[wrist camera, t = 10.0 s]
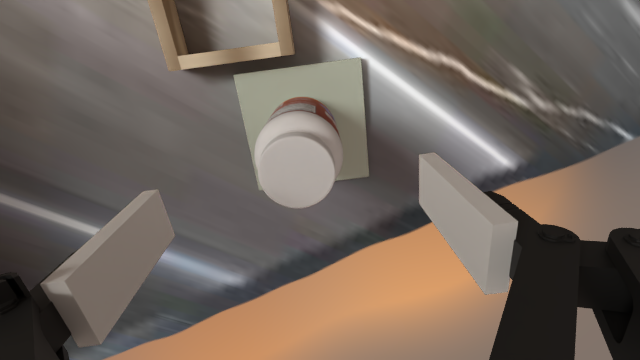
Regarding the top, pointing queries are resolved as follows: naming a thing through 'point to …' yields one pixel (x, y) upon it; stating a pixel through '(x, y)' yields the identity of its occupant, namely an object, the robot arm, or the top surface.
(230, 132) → the top surface
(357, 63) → the coaster
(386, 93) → the top surface
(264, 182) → the pill bottle
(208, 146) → the top surface
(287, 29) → the pocket frame
